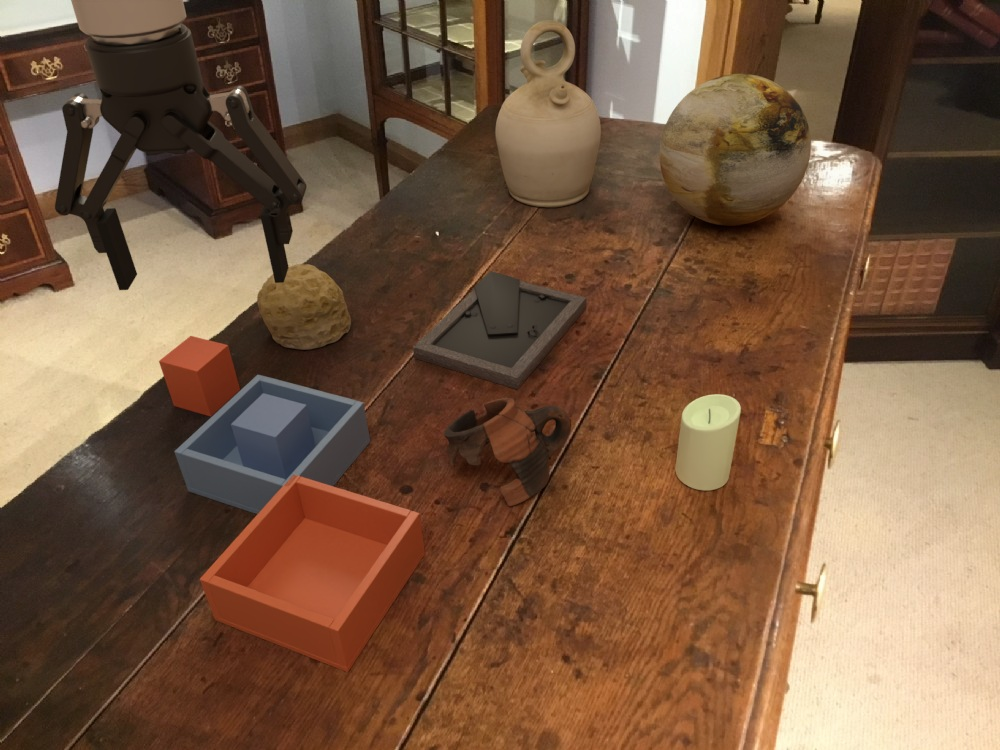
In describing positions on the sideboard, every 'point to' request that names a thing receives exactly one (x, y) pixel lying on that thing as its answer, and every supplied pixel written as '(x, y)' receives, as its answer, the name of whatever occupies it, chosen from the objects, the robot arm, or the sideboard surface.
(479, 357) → the picture frame
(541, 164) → the jug
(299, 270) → the rock
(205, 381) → the rust block
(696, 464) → the candle
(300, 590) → the rust bin
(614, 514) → the sideboard surface
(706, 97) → the decorative sphere
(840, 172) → the sideboard surface
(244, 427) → the slate block
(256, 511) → the slate bin
